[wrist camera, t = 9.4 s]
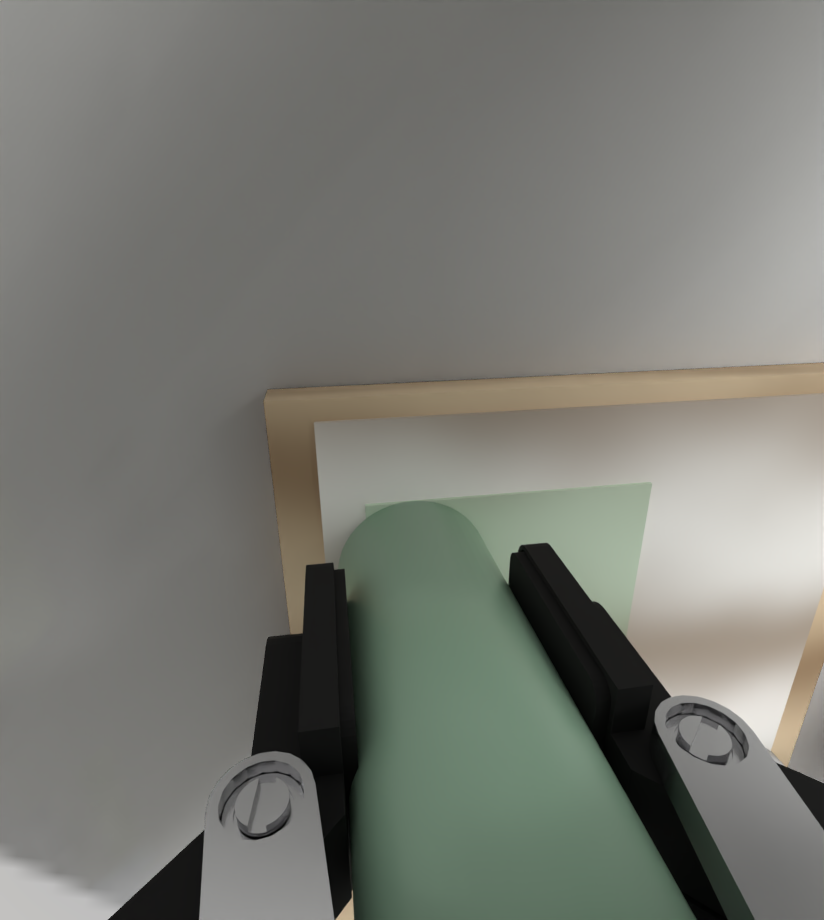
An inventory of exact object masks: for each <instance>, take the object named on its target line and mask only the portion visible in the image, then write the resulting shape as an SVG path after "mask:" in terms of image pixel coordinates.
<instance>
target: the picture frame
mask: <svg viewBox="0 0 824 920" xmlns="http://www.w3.org/2000/svg"><path fill="white" fill-rule="evenodd" d="M263 403H264V412H265V420H266V429H267V438H268V446H269V455H270V463H271V472H272V481H273V489H274V498H275V506H276V515H277V523H278V532H279V541H280V549H281V558H282V566H283V575H284V584H285V592H286V601H287V609H288V618H289V627H290V635H291V634H300V633H303V616H304V594H305V573H306V565H311V564H322V563H332V562H333V563H334V570H336V569H338V565H339V559H340V556H341V552H342V549H343V547H344V545H345V543H346V541H347V540H348V538H349V537H350V535H351V534H352V532H353V531H354V530H355V529H356V528H357V527H358V526H359V525H360V524H361V523H362V522H363V521H364V520H365V519H367V518H368V517H369V516H371V515H372V514H374V513H376V512H378V511H379V510H381V509H383V508H386V507H388V506H391V505H394V504H398V503H402V502H409V501H429V502H435V503H439V504H443V505H446V506H448V507H451V508H453V509H455V510H456V511H458V512H460V513H461V514H462V515H464V516H465V517H466V518H467V519H468V520H469V521H470V522H471V523H472V524H473V525H474V526H475V528H476V529H477V530H478V532H479V534H480V536H481V537H482V539H483V541H484V543H485V545H486V546H487V548H488V550H489V552H490V553H491V555H492V557H493V559H494V560H495V562H496V564H497V566H498V568H499V569H500V571H501V573H502V575H503V576H504V578H505V580H506V582H507V584H508V582H509V567H510V556H511V554H512V553H515V552H518V549H519V547H520V546H521V545H526V544H537V543H548V544H550V545H551V547H552V548H553V549H554V551H555V552H556V554H557V555H558V556H559V558H560V559H561V560H562V562H563V563H564V564H565V566H566V567H567V568H568V570H569V571H570V573H571V574H572V575H573V577H574V578H575V579H576V581H577V582H578V583H579V585H580V586H581V587H582V589H583V590H584V591H585V593H586V594H587V596H588V597H589V598H590V600H591V601H592V602H593V601H595V602H598V603H600V604H601V605H602V606H603V607H604V609H605V610H606V611H607V612H608V614H609V615H610V616H611V618H612V619H613V620H614V622H615V623H616V624H617V626H618V627H619V628H620V630H621V631H622V632H623V634H624V635H625V636H626V638H627V639H628V640H629V642H630V643H631V644H632V645H633V647H634V648H635V649H636V651H637V652H638V653H639V655H640V656H641V657H642V659H643V660H644V661H645V663H646V664H647V665H648V667H649V668H650V669H651V671H652V672H653V673H654V674H655V676H656V677H657V678H658V680H659V681H660V682H661V684H662V685H663V686H664V688H665V689H666V690H667V692H668V693H669V694H670V696H671V697H674V696H681V695H687V696H698V697H701V698H705V699H708V700H711V701H714V702H716V703H718V704H720V705H722V706H724V707H726V708H728V709H730V710H731V711H732V712H734V713H735V714H736V715H738V716H739V717H740V718H742V719H743V720H744V721H745V722H746V724H747V725H748V726H749V727H750V728H751V729H752V730H753V731H754V733H755V734H756V736H757V737H758V738H759V740H760V741H761V743H762V744H763V745H764V747H765V748H766V750H767V751H768V753H769V754H770V755H771V757H772V758H773V760H774V761H775V762H776V763H779V764H781V765H783V766H785V767H788V764H789V761H790V758H791V755H792V752H793V750H794V747H795V744H796V741H797V738H798V735H799V732H800V729H801V726H802V724H803V721H804V718H805V715H806V712H807V709H808V706H809V703H810V700H811V698H812V695H813V692H814V689H815V686H816V683H817V680H818V677H819V674H820V672H821V669H822V666H823V663H824V363H807V364H786V365H765V366H744V367H724V368H703V369H682V370H661V371H641V372H620V373H599V374H578V375H557V376H537V377H516V378H495V379H474V380H454V381H433V382H412V383H391V384H371V385H350V386H329V387H308V388H288V389H268V390H267V393H266V395H265V398H264V401H263ZM336 920H354V908H353V890H352V898H351V900H350V901H349V902H348V904H347V905H346V906H345V908H344V909H343V910H342V912H341V913H340V914H339V916H338V917H337V918H336Z"/></svg>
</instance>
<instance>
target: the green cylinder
mask: <svg viewBox="0 0 824 920" xmlns="http://www.w3.org/2000/svg"><path fill="white" fill-rule="evenodd" d="M338 569H345V580H346V595H347V609H348V623H349V637H350V651H351V666H352V680H353V694H354V708H355V723H356V737H357V752H358V766H359V768H358V770H357V772H356V774H355V777H354V779H353V782H352V785H351V790H350V795H349V822H350V844H351V865H352V887H353V908H354V920H697V919H696V917H695V916H694V914H693V912H692V910H691V909H690V907H689V905H688V903H687V901H686V900H685V898H684V896H683V894H682V893H681V891H680V889H679V887H678V885H677V884H676V882H675V880H674V878H673V877H672V875H671V873H670V871H669V869H668V868H667V866H666V864H665V862H664V861H663V859H662V857H661V855H660V854H659V852H658V850H657V848H656V846H655V845H654V843H653V841H652V839H651V838H650V836H649V834H648V832H647V830H646V829H645V827H644V825H643V823H642V822H641V820H640V818H639V816H638V814H637V813H636V811H635V809H634V807H633V806H632V804H631V802H630V800H629V798H628V797H627V795H626V793H625V791H624V790H623V788H622V786H621V784H620V782H619V781H618V779H617V777H616V775H615V774H614V772H613V770H612V768H611V766H610V765H609V763H608V761H607V759H606V758H605V756H604V754H603V752H602V751H601V749H600V747H599V745H598V743H597V742H596V740H595V738H594V736H593V735H592V733H591V731H590V729H589V727H588V726H587V724H586V722H585V720H584V719H583V717H582V715H581V713H580V711H579V710H578V708H577V706H576V704H575V703H574V701H573V699H572V697H571V695H570V694H569V692H568V690H567V688H566V687H565V685H564V683H563V681H562V679H561V678H560V676H559V674H558V672H557V671H556V669H555V667H554V665H553V663H552V662H551V660H550V658H549V656H548V655H547V653H546V651H545V649H544V648H543V646H542V644H541V642H540V640H539V639H538V637H537V635H536V633H535V632H534V630H533V628H532V626H531V624H530V623H529V621H528V619H527V617H526V616H525V614H524V612H523V610H522V608H521V607H520V605H519V603H518V601H517V600H516V598H515V596H514V594H513V592H512V591H511V589H510V587H509V585H508V584H507V582H506V580H505V578H504V576H503V575H502V573H501V571H500V569H499V568H498V566H497V564H496V562H495V560H494V559H493V557H492V555H491V553H490V552H489V550H488V548H487V546H486V545H485V543H484V541H483V539H482V537H481V536H480V534H479V532H478V530H477V529H476V528H475V526H474V525H473V524H472V523H471V522H470V521H469V520H468V519H467V518H466V517H465V516H464V515H462V514H461V513H460V512H458V511H456V510H455V509H453V508H451V507H448V506H446V505H443V504H439V503H435V502H429V501H409V502H402V503H398V504H394V505H391V506H388V507H386V508H383V509H381V510H379V511H378V512H376V513H374V514H372V515H371V516H369V517H368V518H367V519H365V520H364V521H363V522H362V523H361V524H360V525H359V526H358V527H357V528H356V529H355V530H354V531H353V532H352V534H351V535H350V537H349V538H348V540H347V541H346V543H345V545H344V547H343V549H342V552H341V556H340V559H339V565H338Z"/></svg>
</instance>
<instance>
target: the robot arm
mask: <svg viewBox="0 0 824 920" xmlns="http://www.w3.org/2000/svg"><path fill="white" fill-rule="evenodd" d="M508 585H509V587H510V589H511V591H512V592H513V594H514V596H515V598H516V600H517V601H518V603H519V605H520V607H521V608H522V610H523V612H524V614H525V616H526V617H527V619H528V621H529V623H530V624H531V626H532V628H533V630H534V632H535V633H536V635H537V637H538V639H539V640H540V642H541V644H542V646H543V648H544V649H545V651H546V653H547V655H548V656H549V658H550V660H551V662H552V663H553V665H554V667H555V669H556V671H557V672H558V674H559V676H560V678H561V679H562V681H563V683H564V685H565V687H566V688H567V690H568V692H569V694H570V695H571V697H572V699H573V701H574V703H575V704H576V706H577V708H578V710H579V711H580V713H581V715H582V717H583V719H584V720H585V722H586V724H587V726H588V727H589V729H590V731H591V733H592V735H593V736H594V738H595V740H596V742H597V743H598V745H599V747H600V749H601V751H602V752H603V754H604V756H605V758H606V759H607V761H608V763H609V765H610V766H611V768H612V770H613V772H614V774H615V775H616V777H617V779H618V781H619V782H620V784H621V786H622V788H623V790H624V791H625V793H626V795H627V797H628V798H629V800H630V802H631V804H632V806H633V807H634V809H635V811H636V813H637V814H638V816H639V818H640V820H641V822H642V823H643V825H644V827H645V829H646V830H647V832H648V834H649V836H650V838H651V839H652V841H653V843H654V845H655V846H656V848H657V850H658V852H659V854H660V855H661V857H662V859H663V861H664V862H665V864H666V866H667V868H668V869H669V871H670V873H671V875H672V877H673V878H674V880H675V882H676V884H677V885H678V887H679V889H680V891H681V893H682V894H683V896H684V898H685V900H686V901H687V903H688V905H689V907H690V909H691V910H692V912H693V914H694V916H695V917H696V919H697V920H824V783H821V782H819V781H817V780H815V779H812V778H810V777H808V776H806V775H803V774H801V773H799V772H797V771H794V770H792V769H790V768H788V767H785V766H783V765H781V764H779V763H776V762H775V761H774V760H773V758H772V757H771V755H770V754H769V753H768V751H767V750H766V748H765V747H764V745H763V744H762V743H761V741H760V740H759V738H758V737H757V736H756V734H755V733H754V731H753V730H752V729H751V728H750V727H749V726H748V725H747V724H746V722H745V721H744V720H743V719H742V718H740V717H739V716H738V715H736V714H735V713H734V712H732V711H731V710H730V709H728V708H726V707H724V706H722V705H720V704H718V703H716V702H714V701H711V700H708V699H705V698H701V697H698V696H687V695H681V696H674V697H671V696H670V694H669V693H668V692H667V690H666V689H665V688H664V686H663V685H662V684H661V682H660V681H659V680H658V678H657V677H656V676H655V674H654V673H653V672H652V671H651V669H650V668H649V667H648V665H647V664H646V663H645V661H644V660H643V659H642V657H641V656H640V655H639V653H638V652H637V651H636V649H635V648H634V647H633V645H632V644H631V643H630V642H629V640H628V639H627V638H626V636H625V635H624V634H623V632H622V631H621V630H620V628H619V627H618V626H617V624H616V623H615V622H614V620H613V619H612V618H611V616H610V615H609V614H608V612H607V611H606V610H605V609H604V607H603V606H602V605H601V604H600V603H598V602H595V601H593V602H592V601H591V600H590V598H589V597H588V596H587V594H586V593H585V591H584V590H583V589H582V587H581V586H580V585H579V583H578V582H577V581H576V579H575V578H574V577H573V575H572V574H571V573H570V571H569V570H568V568H567V567H566V566H565V564H564V563H563V562H562V560H561V559H560V558H559V556H558V555H557V554H556V552H555V551H554V549H553V548H552V547H551V545H550V544H548V543H537V544H526V545H521V546H520V547H519V549H518V552H515V553H512V554H511V556H510V567H509V582H508ZM358 768H359V766H358V752H357V737H356V723H355V708H354V694H353V680H352V666H351V651H350V637H349V623H348V609H347V595H346V580H345V569H336V570H334V563H333V562H332V563H322V564H311V565H306V573H305V594H304V616H303V633H300V634H291V635H282V636H273V637H268V639H267V644H266V651H265V658H264V665H263V673H262V680H261V688H260V695H259V702H258V710H257V717H256V725H255V732H254V740H253V747H252V754H251V757H248V758H246V759H244V760H242V761H241V762H239V763H238V764H236V765H235V766H233V767H232V768H230V769H229V770H228V771H227V772H226V773H225V774H224V775H223V776H222V777H221V778H220V780H219V781H218V782H217V784H216V785H215V787H214V789H213V791H212V792H211V794H210V796H209V799H208V804H207V808H206V813H205V830H204V831H203V832H202V833H201V834H199V835H198V836H197V837H196V838H195V839H194V840H193V841H192V842H191V843H190V844H189V845H188V846H187V847H186V848H184V849H183V850H182V851H181V852H180V853H179V854H178V855H177V856H176V857H175V858H174V859H173V860H172V861H171V862H169V863H168V864H167V865H166V866H165V867H164V868H163V869H162V870H161V871H160V872H159V873H158V874H157V875H155V876H154V877H153V878H152V879H151V880H150V881H149V882H148V883H147V884H146V885H145V886H144V887H143V888H142V889H140V890H139V891H138V892H137V893H136V894H135V895H134V896H133V897H132V898H131V899H130V900H129V901H128V902H126V903H125V904H124V905H123V906H122V907H121V908H120V909H119V910H118V911H117V912H116V913H115V914H114V915H113V916H111V917H110V918H109V919H108V920H336V918H337V917H338V916H339V914H340V913H341V912H342V910H343V909H344V908H345V906H346V905H347V904H348V902H349V901H350V900H351V898H352V890H353V887H352V865H351V844H350V822H349V795H350V790H351V785H352V782H353V779H354V777H355V774H356V772H357V770H358Z"/></svg>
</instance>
